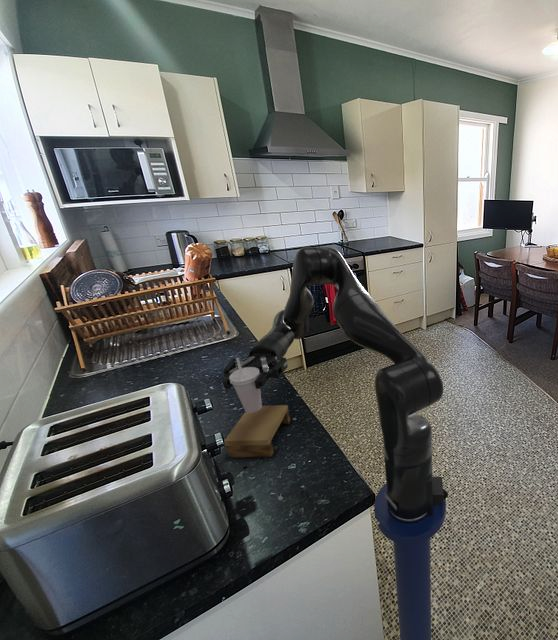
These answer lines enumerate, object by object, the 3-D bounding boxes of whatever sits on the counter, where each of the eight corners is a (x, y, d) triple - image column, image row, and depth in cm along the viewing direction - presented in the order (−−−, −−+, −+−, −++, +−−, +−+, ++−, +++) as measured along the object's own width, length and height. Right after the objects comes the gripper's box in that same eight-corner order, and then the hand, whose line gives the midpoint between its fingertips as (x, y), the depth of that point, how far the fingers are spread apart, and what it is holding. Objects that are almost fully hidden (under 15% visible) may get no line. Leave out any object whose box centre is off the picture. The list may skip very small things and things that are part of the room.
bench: (290, 420, 93) (287, 405, 91) (271, 456, 81) (267, 440, 79) (253, 420, 93) (249, 405, 91) (229, 457, 81) (223, 440, 79)
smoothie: (234, 408, 83) (219, 357, 78) (261, 396, 87) (249, 347, 82) (244, 420, 79) (229, 368, 73) (272, 407, 83) (260, 357, 78)
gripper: (240, 338, 91) (204, 372, 76) (294, 337, 92) (270, 371, 76) (246, 362, 94) (213, 400, 79) (299, 361, 95) (276, 398, 79)
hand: (241, 385), depth 78 cm, fingers closed on smoothie, 6 cm apart
